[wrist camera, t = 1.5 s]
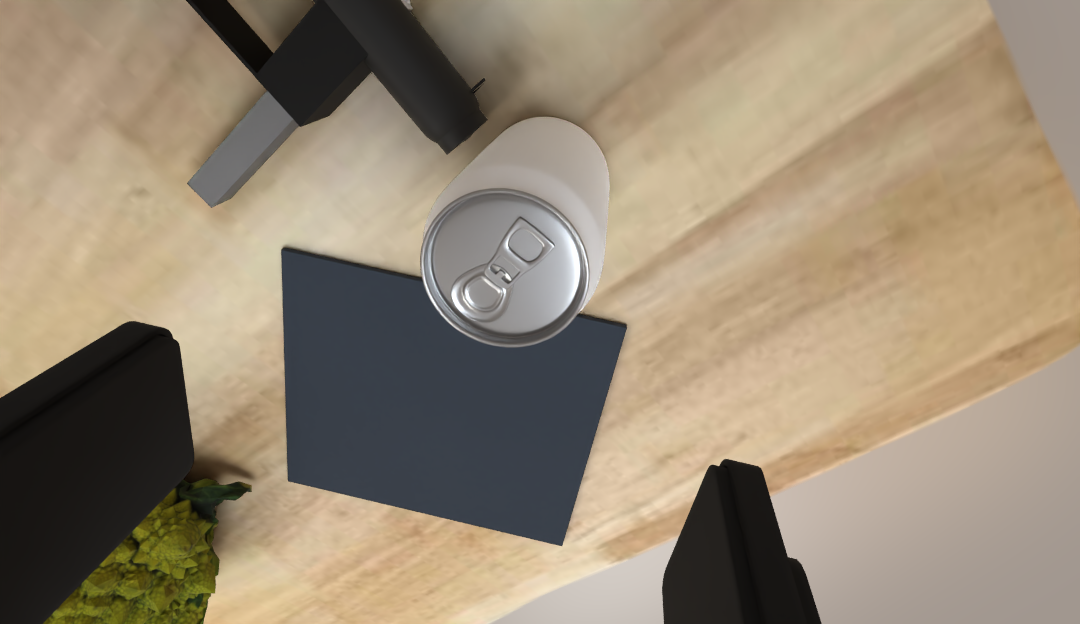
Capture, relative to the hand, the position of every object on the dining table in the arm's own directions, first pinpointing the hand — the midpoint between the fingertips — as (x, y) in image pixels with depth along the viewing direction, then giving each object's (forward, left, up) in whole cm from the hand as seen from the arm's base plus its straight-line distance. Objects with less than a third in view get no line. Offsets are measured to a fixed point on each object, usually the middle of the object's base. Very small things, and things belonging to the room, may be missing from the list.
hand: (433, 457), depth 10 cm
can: (0, -1, -22) cm, 22 cm away
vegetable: (-24, -32, -22) cm, 46 cm away
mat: (-4, -17, -22) cm, 28 cm away
